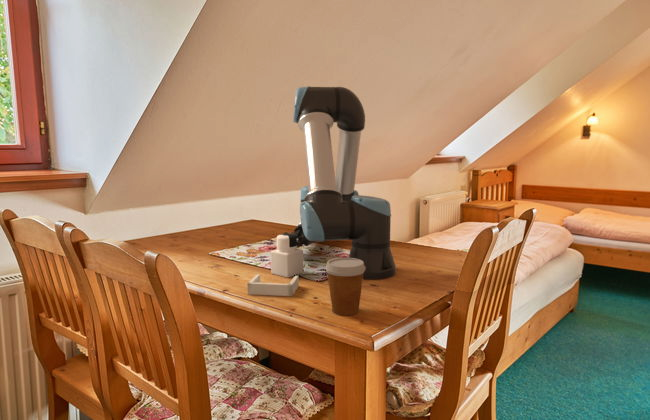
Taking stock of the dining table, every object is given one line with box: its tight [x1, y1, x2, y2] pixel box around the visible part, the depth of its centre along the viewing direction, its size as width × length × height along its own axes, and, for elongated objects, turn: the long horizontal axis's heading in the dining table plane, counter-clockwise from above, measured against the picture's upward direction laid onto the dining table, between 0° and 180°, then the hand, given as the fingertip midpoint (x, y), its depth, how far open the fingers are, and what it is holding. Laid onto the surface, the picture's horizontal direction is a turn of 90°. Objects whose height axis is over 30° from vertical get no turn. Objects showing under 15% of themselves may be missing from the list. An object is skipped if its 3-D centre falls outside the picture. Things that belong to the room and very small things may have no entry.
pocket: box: [246, 273, 300, 297], centre depth 132 cm, size 12×8×3 cm
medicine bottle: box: [270, 233, 304, 278], centre depth 147 cm, size 7×7×12 cm
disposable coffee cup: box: [324, 257, 366, 316], centre depth 115 cm, size 10×10×12 cm
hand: (291, 247), depth 154 cm, fingers closed
